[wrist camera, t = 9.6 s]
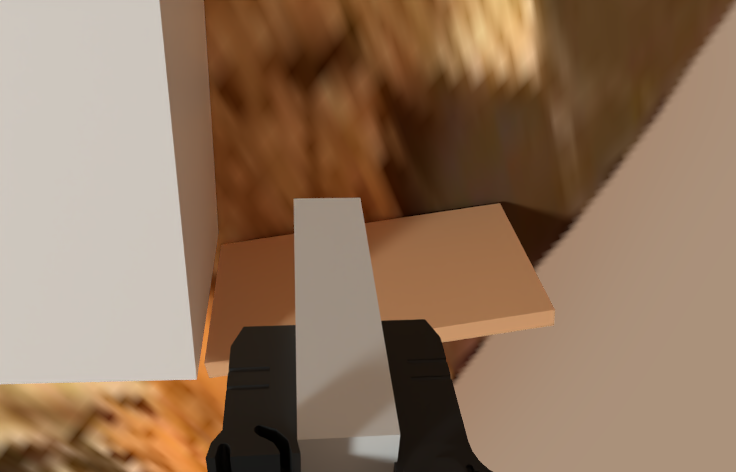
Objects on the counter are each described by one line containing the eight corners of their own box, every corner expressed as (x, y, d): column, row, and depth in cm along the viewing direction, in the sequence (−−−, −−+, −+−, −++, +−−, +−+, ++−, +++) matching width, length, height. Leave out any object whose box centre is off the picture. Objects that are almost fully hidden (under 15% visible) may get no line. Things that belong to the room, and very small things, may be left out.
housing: (-191, -125, 28) (-449, -76, 18) (197, -100, 30) (154, -44, 20) (-59, 257, 39) (-176, 417, 29) (220, 257, 41) (199, 407, 31)
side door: (499, 203, 40) (554, 309, 32) (499, 232, 42) (552, 342, 33) (221, 244, 40) (204, 363, 32) (229, 273, 41) (215, 394, 33)
